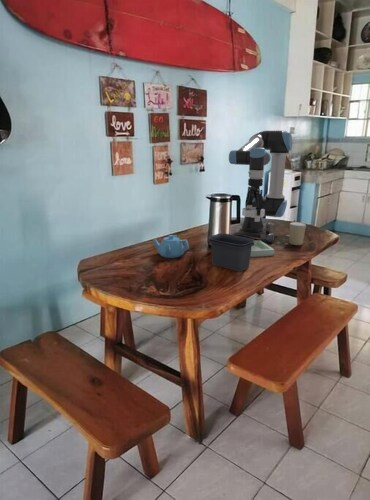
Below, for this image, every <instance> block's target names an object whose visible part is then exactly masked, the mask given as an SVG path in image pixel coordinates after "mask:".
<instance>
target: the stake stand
mask: <svg viewBox="0 0 370 500" xmlns="http://www.w3.org/2000/svg"><path fill="white" fill-rule="evenodd" d="M271 228H272V224H271V223H270V222H268V223H266V224H265V231H262V232H260V240H261V241H262V242H264V243H265V244H267V245H268V244H269V245H272V244H274V243H275V242H274V241H275V233H273V232H271Z"/></svg>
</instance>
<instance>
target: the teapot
mask: <svg viewBox="0 0 370 500" xmlns="http://www.w3.org/2000/svg"><path fill="white" fill-rule="evenodd" d="M152 241H153V244H154V247H155V248H156V251H157V252H158V254H159V255H160V256H161V257H162V258H167V259H177V258H180V257H182V256H183V254H184V253H186V251H187V250H189V249H190V245H189V242H188V239H180V238H179V237H177V234H174V235H173V234H170V235H168V236H166V237H163V238H162V240H161V242H158V240H157V238H152ZM183 243H184V244H183Z"/></svg>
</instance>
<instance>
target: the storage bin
mask: <svg viewBox="0 0 370 500" xmlns="http://www.w3.org/2000/svg"><path fill="white" fill-rule="evenodd" d="M254 241H255V239H254V238H249V237H243V236H239V235H235V234H231V233H223V232H221V233H216V234H213V235H209V236H208V242H209V243H210V245H211V246H210V247H211V248H210V249H211V250H210V251H211V260H212V261H211V264H212V265H213V266H216V267H219V268H225V269H227V270H228V269H229V270H231V271H235V272H242V271H245V270H247V269H248V268H249V267H250V260H251V257H250V254H251V248H252V246H253V245H254Z"/></svg>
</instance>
